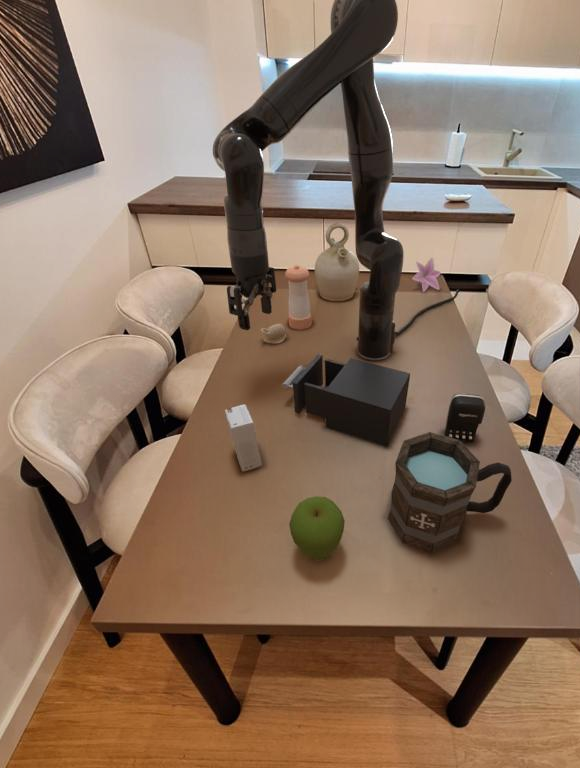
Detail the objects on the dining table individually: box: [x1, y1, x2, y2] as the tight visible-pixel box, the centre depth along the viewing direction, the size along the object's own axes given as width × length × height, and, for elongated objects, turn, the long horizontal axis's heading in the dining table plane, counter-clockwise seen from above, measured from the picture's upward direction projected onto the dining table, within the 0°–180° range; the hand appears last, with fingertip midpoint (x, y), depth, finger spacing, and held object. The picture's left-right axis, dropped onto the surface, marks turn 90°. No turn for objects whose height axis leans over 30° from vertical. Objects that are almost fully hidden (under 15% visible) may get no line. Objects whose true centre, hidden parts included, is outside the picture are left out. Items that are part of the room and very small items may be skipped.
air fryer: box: [325, 357, 411, 447], centre depth 90 cm, size 15×14×11 cm
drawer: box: [281, 353, 346, 420], centre depth 93 cm, size 18×12×9 cm
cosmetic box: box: [224, 403, 263, 472], centre depth 78 cm, size 6×4×12 cm
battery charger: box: [443, 393, 486, 443], centre depth 85 cm, size 7×4×11 cm, turn 83°
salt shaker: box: [284, 264, 313, 331], centre depth 120 cm, size 7×7×19 cm
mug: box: [387, 431, 513, 554], centre depth 68 cm, size 20×14×15 cm
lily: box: [411, 257, 442, 293], centre depth 149 cm, size 12×12×10 cm
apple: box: [288, 495, 345, 561], centre depth 63 cm, size 9×8×12 cm
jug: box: [314, 222, 360, 302], centre depth 136 cm, size 15×16×25 cm
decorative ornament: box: [260, 323, 287, 345], centre depth 117 cm, size 4×8×5 cm, turn 129°
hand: (256, 320), depth 90 cm, fingers open, 8 cm apart
